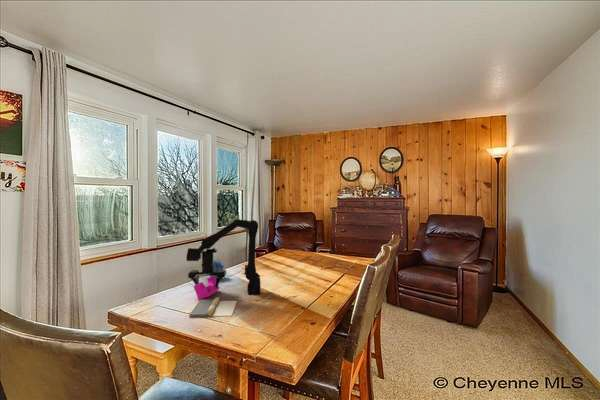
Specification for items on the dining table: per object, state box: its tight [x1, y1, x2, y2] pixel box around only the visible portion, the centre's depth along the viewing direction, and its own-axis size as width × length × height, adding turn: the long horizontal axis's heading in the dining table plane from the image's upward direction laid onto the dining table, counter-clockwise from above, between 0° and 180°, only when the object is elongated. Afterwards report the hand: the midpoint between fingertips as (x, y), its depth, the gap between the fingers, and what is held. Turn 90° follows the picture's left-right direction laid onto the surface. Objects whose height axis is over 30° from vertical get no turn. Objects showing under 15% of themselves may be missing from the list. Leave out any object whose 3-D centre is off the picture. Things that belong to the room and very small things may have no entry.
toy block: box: [193, 275, 220, 301], centre depth 150 cm, size 15×6×8 cm, turn 168°
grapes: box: [209, 260, 225, 278], centre depth 177 cm, size 12×7×12 cm, turn 145°
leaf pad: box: [211, 300, 238, 318], centre depth 132 cm, size 8×17×1 cm, turn 5°
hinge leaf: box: [188, 296, 220, 318], centre depth 132 cm, size 9×18×2 cm, turn 5°
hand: (207, 289), depth 151 cm, fingers open, 9 cm apart
